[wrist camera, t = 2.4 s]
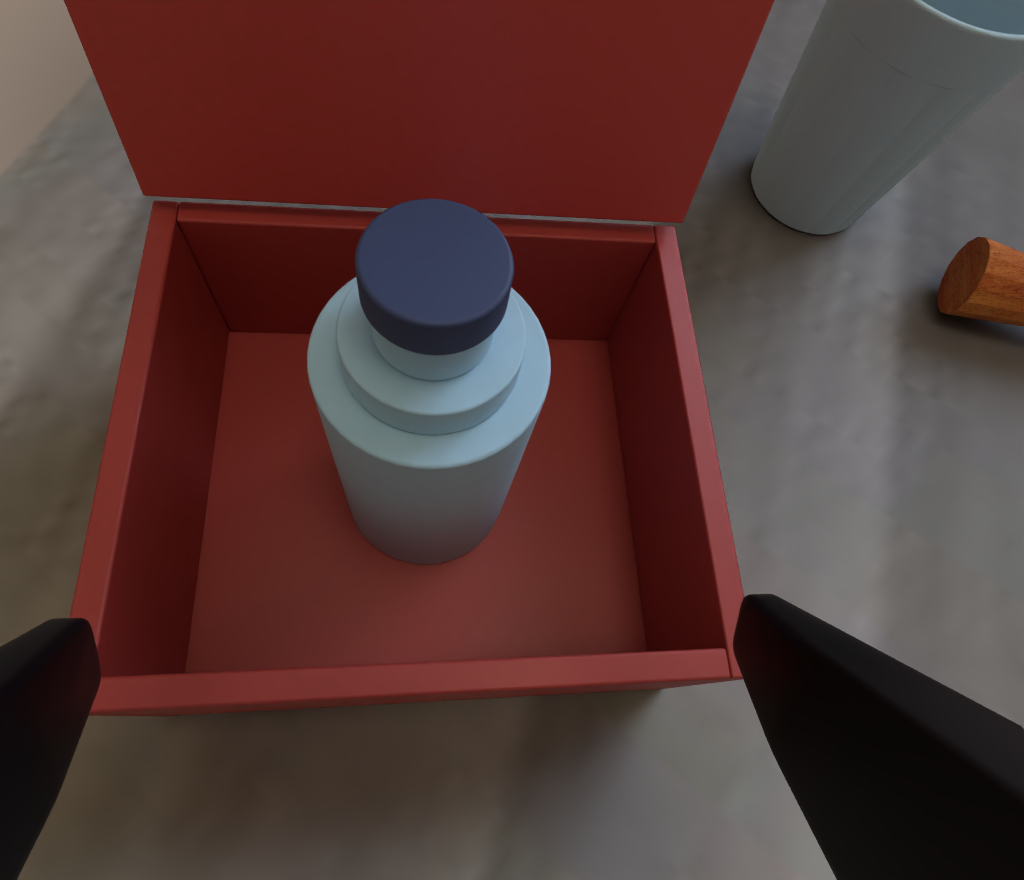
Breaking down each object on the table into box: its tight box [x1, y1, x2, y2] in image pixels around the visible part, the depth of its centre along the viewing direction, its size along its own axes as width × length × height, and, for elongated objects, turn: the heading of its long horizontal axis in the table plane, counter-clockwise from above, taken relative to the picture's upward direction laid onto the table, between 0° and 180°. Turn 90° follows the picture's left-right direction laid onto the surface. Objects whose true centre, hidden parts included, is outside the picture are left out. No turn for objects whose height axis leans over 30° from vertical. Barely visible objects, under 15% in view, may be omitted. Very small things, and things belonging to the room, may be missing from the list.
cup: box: [751, 0, 1024, 235], centre depth 26 cm, size 8×8×10 cm
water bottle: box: [307, 199, 551, 565], centre depth 17 cm, size 5×5×12 cm
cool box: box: [70, 201, 744, 716], centre depth 20 cm, size 13×15×6 cm
